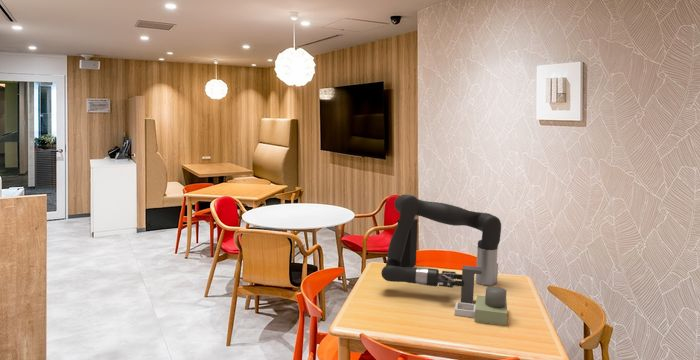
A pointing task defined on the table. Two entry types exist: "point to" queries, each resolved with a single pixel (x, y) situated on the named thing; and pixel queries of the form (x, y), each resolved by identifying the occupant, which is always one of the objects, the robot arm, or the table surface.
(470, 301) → the dark grey angled block
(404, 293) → the table surface
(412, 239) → the black upright block
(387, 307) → the table surface
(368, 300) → the table surface
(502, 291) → the green block with cylinder
